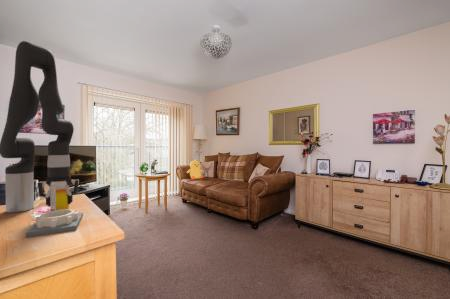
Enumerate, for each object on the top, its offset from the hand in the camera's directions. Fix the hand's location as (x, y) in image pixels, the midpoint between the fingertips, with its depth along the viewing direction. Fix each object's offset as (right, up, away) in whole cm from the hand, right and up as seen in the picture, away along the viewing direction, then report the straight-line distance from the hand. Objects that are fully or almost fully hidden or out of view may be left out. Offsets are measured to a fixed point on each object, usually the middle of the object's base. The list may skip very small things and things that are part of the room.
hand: (59, 204), depth 88 cm
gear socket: (+8, -5, -10) cm, 14 cm away
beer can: (0, -5, 0) cm, 5 cm away
